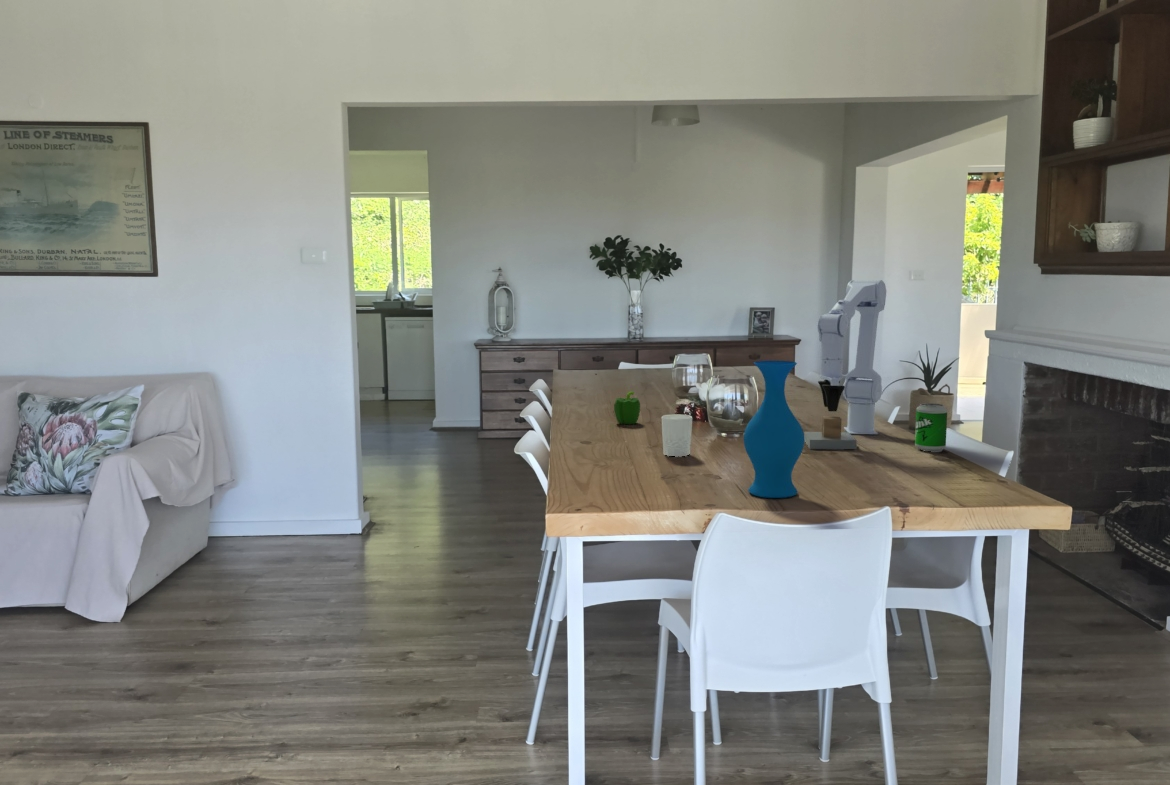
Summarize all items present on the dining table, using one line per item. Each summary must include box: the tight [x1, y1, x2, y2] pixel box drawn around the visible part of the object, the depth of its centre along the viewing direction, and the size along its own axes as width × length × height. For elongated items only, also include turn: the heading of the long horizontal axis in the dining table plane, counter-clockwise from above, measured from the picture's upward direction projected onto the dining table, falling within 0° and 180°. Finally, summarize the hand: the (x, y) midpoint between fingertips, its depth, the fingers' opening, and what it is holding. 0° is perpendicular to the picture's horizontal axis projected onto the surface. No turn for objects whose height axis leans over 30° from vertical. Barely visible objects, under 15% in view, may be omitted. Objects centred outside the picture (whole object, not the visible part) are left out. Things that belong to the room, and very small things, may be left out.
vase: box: [743, 360, 805, 499], centre depth 183 cm, size 12×13×28 cm
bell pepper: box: [613, 391, 641, 425], centre depth 273 cm, size 8×8×10 cm
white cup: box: [661, 413, 693, 458], centre depth 225 cm, size 8×8×10 cm
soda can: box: [914, 402, 948, 453], centre depth 228 cm, size 8×8×12 cm
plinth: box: [803, 431, 858, 450], centre depth 237 cm, size 12×12×2 cm
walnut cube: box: [821, 415, 842, 438], centre depth 236 cm, size 4×4×5 cm
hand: (830, 409), depth 235 cm, fingers open, 7 cm apart
